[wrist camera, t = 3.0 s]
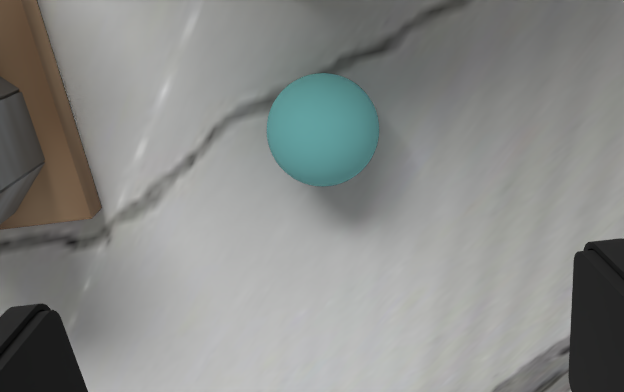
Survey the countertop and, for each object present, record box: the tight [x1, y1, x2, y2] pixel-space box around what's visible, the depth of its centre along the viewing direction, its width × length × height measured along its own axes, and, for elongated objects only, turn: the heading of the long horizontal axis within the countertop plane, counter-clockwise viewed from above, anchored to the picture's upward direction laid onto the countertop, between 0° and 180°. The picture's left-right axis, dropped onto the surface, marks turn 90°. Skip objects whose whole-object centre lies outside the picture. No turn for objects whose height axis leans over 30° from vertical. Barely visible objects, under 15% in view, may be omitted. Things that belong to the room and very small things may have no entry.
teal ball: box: [267, 73, 379, 186], centre depth 22 cm, size 4×4×4 cm
